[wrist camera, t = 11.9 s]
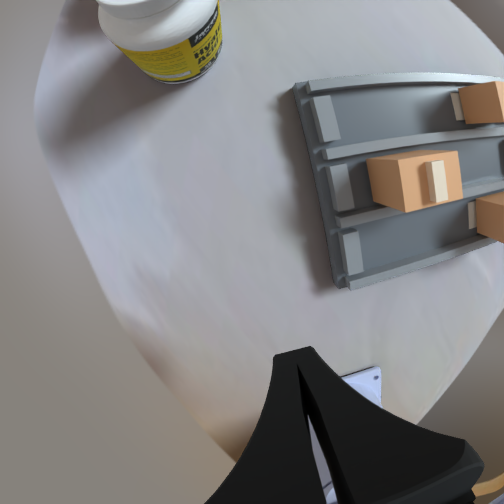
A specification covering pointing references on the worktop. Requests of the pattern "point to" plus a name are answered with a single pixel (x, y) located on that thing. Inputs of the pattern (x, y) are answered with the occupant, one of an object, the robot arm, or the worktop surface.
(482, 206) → the cardboard box
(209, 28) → the supplement bottle
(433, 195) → the tan box with strip
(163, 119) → the worktop surface
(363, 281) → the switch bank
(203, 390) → the worktop surface
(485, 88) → the orange box
